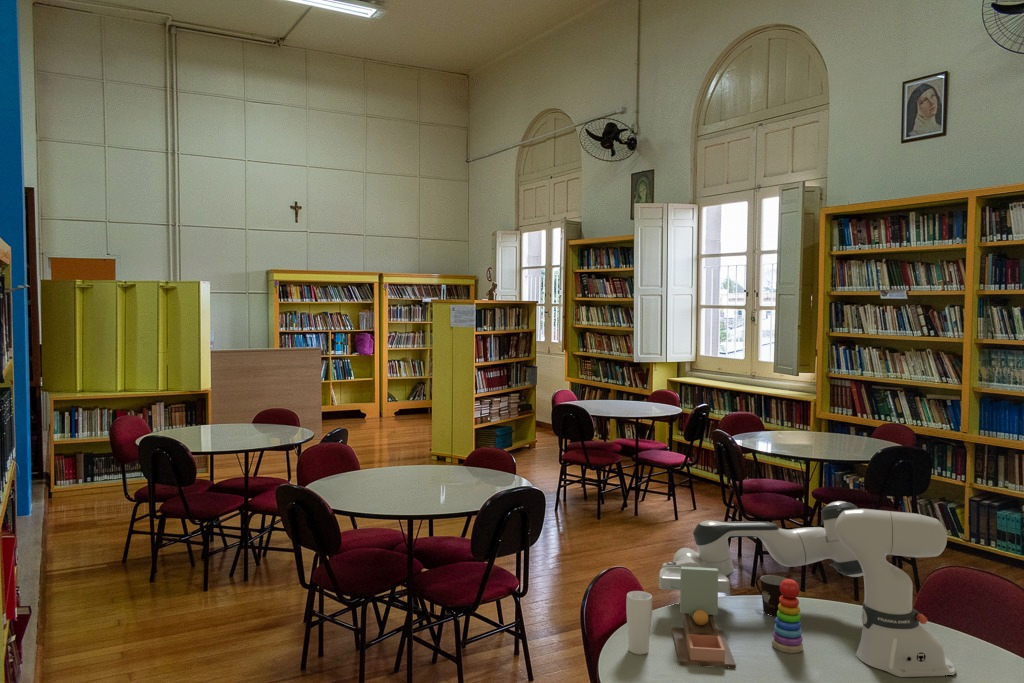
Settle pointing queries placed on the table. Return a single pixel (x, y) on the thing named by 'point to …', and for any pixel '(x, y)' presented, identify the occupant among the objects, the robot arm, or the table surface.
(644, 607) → the drinking glass
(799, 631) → the stacking toy
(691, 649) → the terracotta cup
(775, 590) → the coffee mug
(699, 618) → the orange rubber ball
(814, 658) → the table surface
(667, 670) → the table surface
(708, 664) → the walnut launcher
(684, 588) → the pale green panel
